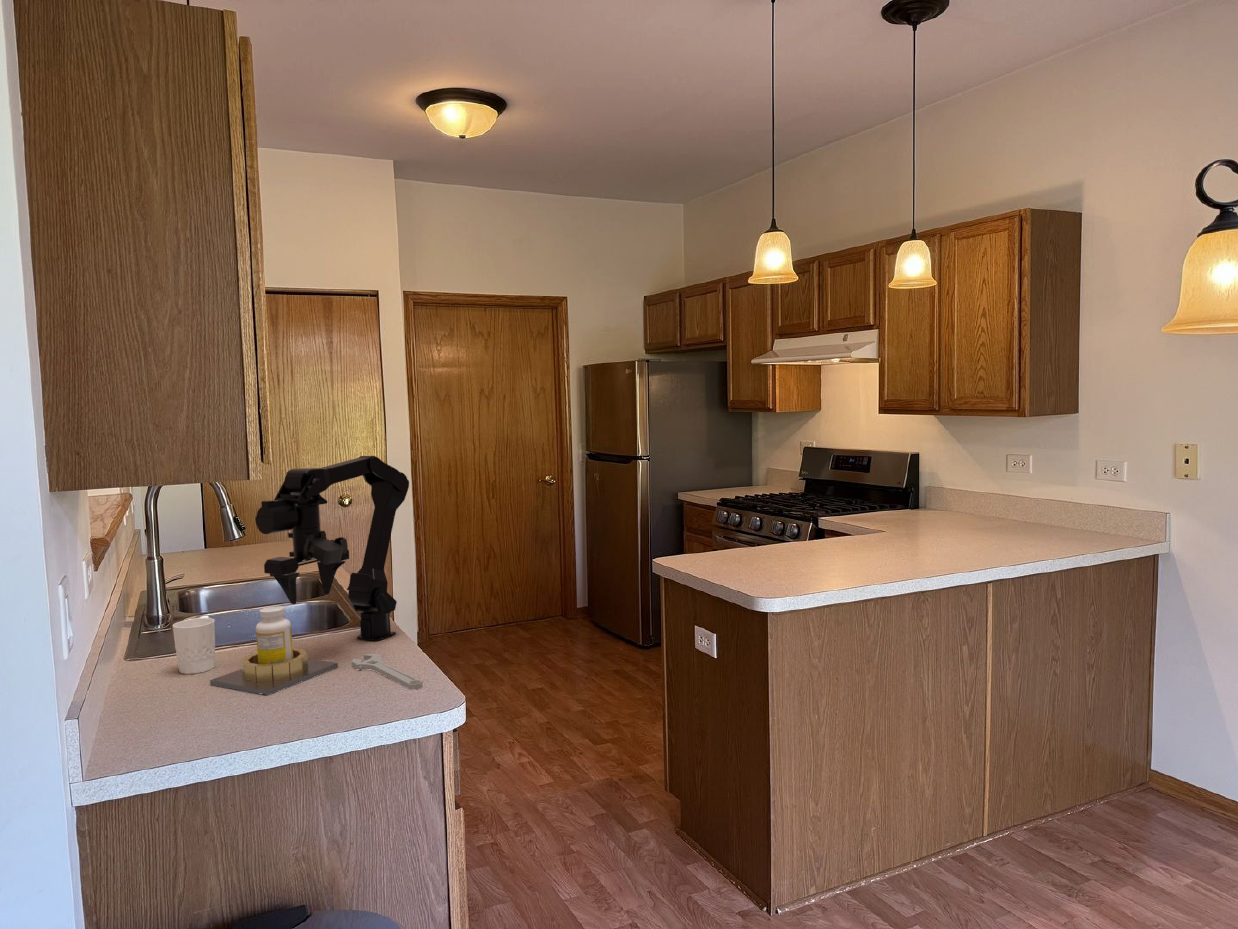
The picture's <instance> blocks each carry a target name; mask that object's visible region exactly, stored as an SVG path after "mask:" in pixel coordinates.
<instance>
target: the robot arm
mask: <svg viewBox="0 0 1238 929" xmlns="http://www.w3.org/2000/svg"><path fill="white" fill-rule="evenodd" d="M358 477H363V480H364V482H365V483H367V484H368V485H369V486H370V487H371V489H370V491H371V492H370V496H371V499H372V502H373V506H374V510H373V512H372V513H373V514H372V517H371V518H372V520H371V523H370V527H369V533H368V537H367V543H366V548H365V550H364V551H365V552H364V557H363V562H362V566H361V568H360V569H359V570H358V571H357V572H351V574H350V576H349V584H348V586H347V587H346V590H347V591H348V593H347V594H348V595H347V596H348V599H349V602H351V603H352V607H353V609H354V611H355V612H360V620H359V624H360V625H359V626H360V634H358V635H357V636H356V639H357V640H358V639H360V640H367V641H374V642H378V641H381V640H384V639H386V638H389V637H391V636H394V635H396V634H397V632H396V631H391V613H392V612H393V611H396V606H397V600H396V599H395V598H394V597H393V596H392V595H391V594H390V593H388V586H389V585H388V579H387V575H386V573H385V566H386V561H387V555H388V551H389V547H390V546H389V545H390V541H391V537H392V533H393V526H394V521H395V517H396V514H397V510H398V509H399V508H400V506H401V505H402V504H403V503H404V502H405V499H406V496H407V494H408V490H409V487H410V481H409V479H408V477H407V475H406V474H405V473H403V472H401V471H399V470H398V469H396V467H393V466H392V465H389V464H387V463H386V462H384V461H383V460H382V459H380V458H379V457H378V456H375V455H360V456H358V457H357V458H353V459H348V460H345V461H341V462H338V463H333V464H329V465H326V466H322V467H309V468H308V467H306V468H304V467H303V468H291V469H289V470H288V471H287V472H286V475H285V476H284V481H283V482H282V484H281V486H280V488H279V490H278V491H277V494H276V496H275V497H274V499H273V500H262V501H261V504H260V505H261V507H260V508H258V510H257V512H256V516H255V519H254V520H255V524H256V528H257V529H258V531H259V532H260V533H261V534H264V535H269V534H275V533H276V534H277V533H282V532H287V531H291V532H288V533H287V535H288V536H287V537H288V538H289V539H292V547H293V551H289V553H288V554H289V556H288V557H287V556H277V557H273V558H269V559H266V561H264V564H263V569H264V570H263V573H264V574H269V577H274V579H275V581H276V582H277V583H278V584H279V586H280V587H281V589H282V591H283V592H284V594H285V595H286V598H287V599H288V601H289V602H290V604H291V605H296V604H297V579H298V577H299V575H300V573H301V572H297V571H298V569H299V567H301V566H304V565H305V566H306V565H309V564H313V563H316V564H317V568H318V572H319V578H320V583H321V588H322V591H323V594H324V595H326V596H327V595H329V594H330V593H331V590H332V586H333V582H334V579H335V576H336V573H337V571H338V569H339V568H340V567H341V566H342V565H343V564H345V563H346V560H350V551H349V549H348V542H347V540H348V539H347V538H345V537H343V536H340V537H336V538H335V539H328V538H327V533H326V531H325V530H321V518H320V505H327V504H328V500H327V499H326V498H325V497H322V495H321V493H323V492H325V491H326V490H328V489H329V488H330V487H331V486H332V485H335V484H338V483H341V482H344V481H348V480H351V479H355V478H358Z"/></svg>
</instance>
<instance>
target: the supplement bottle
mask: <svg viewBox="0 0 1238 929" xmlns="http://www.w3.org/2000/svg"><path fill="white" fill-rule="evenodd" d="M285 613H286V610H285V607H284V606H279V605H276V606H268V607H263V608H260V609H259V617H260V618H261V620H260V621H259V622H258V623H257V624H256V625H255V637H256V649H257V650H256V653H258V664H274V663H280V662H285V661H289V660H291V659H293V648H294V647H293V637H292V623H291V621H290V620H289V619H287V618H286V617H285Z"/></svg>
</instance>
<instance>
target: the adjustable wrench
mask: <svg viewBox="0 0 1238 929" xmlns="http://www.w3.org/2000/svg"><path fill="white" fill-rule="evenodd" d="M364 660H365V661H364ZM351 661H352V668H353V667H354V668H353V669H355V670H356V669H359V670H358V671H361V670H360V669H372V670H375V671H377V672H379V673H381V674H382V675H381V674H380V675H381V676H383V675H385V676H387V677H389V678H390V679H389V678H388V679H389V680H391V679H392V680H391V681H393V680H394V681H393V682H395V681H397V682H399V683H400V684H402V685H404V686H405V687H404V686H403V687H404V688H406V687H408V688H410V689H409V690H411V689H416V690H419V689H418V688H420V689H422V688H423V681H422V680H421V679H419V678H416V677H415V676H412V675H410V674H408V673H405V672H403V671H402V670H399V669H397V668H395V667H392V666H390V665H388V664H386V663H384V662H383V656H382V655H381V654H378V653H377V654H376V653H367V654H363V659H358V658H353V659H352V660H351ZM375 671H374V672H375ZM377 672H376V673H377ZM379 673H378V674H379ZM385 676H384V677H385ZM387 677H386V678H387ZM397 682H396V683H397ZM400 684H399V685H400ZM402 685H401V686H402ZM421 687H422V688H421ZM408 688H407V689H408Z"/></svg>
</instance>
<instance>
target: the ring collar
mask: <svg viewBox="0 0 1238 929" xmlns="http://www.w3.org/2000/svg"><path fill="white" fill-rule="evenodd" d="M240 662H241V669H238V670H235V671H232V672H229V673H226V674H224V675H221V676H218V677H215V678H212V679H210V680H209V685H210V686H212V687H213V686H214V687H220V688H224V687H226V688H225V689H229V688H232V689H231V690H234V689H237V690H236V691H240V690H242V691H241V692H245V691H246V692H247V693H250V692H251V693H252V694H256V693H262V694H266V695H265V696H269V695H268V694H270V693H272V694H275V693H277V692H279V691H278V690H280V691H282V690H281V689H283V688H285V689H287V688H286V687H288V688H290V687H292V685H293V686H294V685H298V684H300V683H302V682H301V681H303V682H305V681H308V680H310V679H313V678H315V677H317V675H318V676H320V674H321V675H323V674H325V672H326V673H328V672H330V670H331V671H332V669H333V670H335V669H339V662H333V661H328V660H322V659H321V660H320V659H313V658H308V653H307V651H306V650H304V649H303V648H302V649H301V648H297V647H293V659H291V660H289V661H285V662H280V663H274V664H258V653H257V652H255V653H251V654H249V655H247V656H245V657H244V658H243V659H242V660H240ZM327 671H328V672H327ZM314 676H315V677H314ZM312 677H313V678H312ZM307 679H308V680H307ZM299 682H300V683H299ZM297 683H298V684H297ZM283 690H284V689H283ZM276 691H277V692H276ZM274 692H275V693H274ZM251 693H250V694H251ZM270 695H271V694H270Z"/></svg>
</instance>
